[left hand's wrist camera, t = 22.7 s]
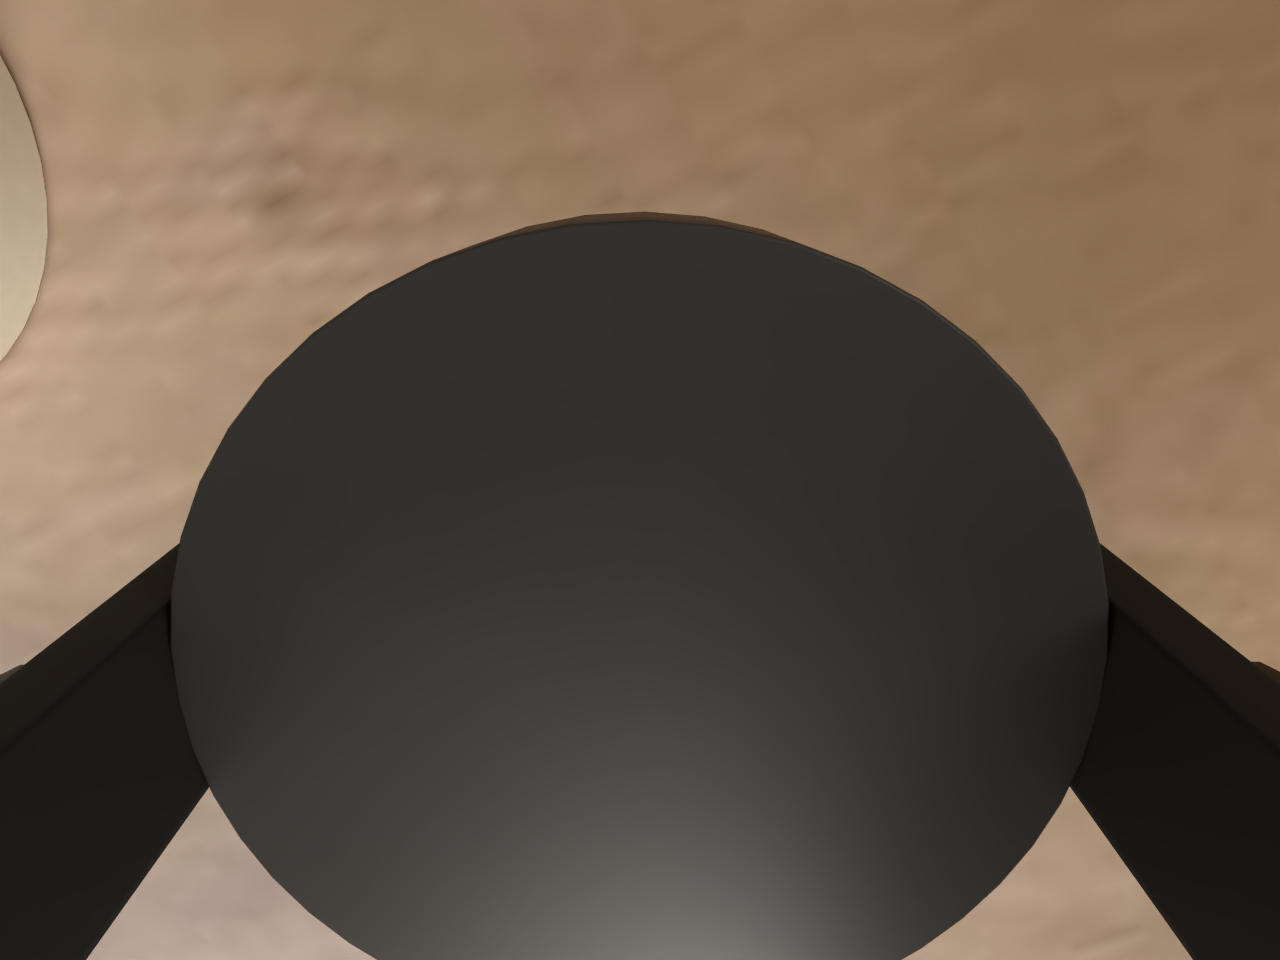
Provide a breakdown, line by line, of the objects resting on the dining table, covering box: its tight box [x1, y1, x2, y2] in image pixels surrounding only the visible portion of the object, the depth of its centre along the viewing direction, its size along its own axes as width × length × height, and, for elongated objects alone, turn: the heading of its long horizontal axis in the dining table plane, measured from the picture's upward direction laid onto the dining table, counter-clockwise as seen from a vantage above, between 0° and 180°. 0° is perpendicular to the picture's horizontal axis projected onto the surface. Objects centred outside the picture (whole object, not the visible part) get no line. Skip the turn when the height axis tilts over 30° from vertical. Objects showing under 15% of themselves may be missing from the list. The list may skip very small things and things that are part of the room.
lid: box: [170, 212, 1109, 960], centre depth 11 cm, size 11×11×2 cm
